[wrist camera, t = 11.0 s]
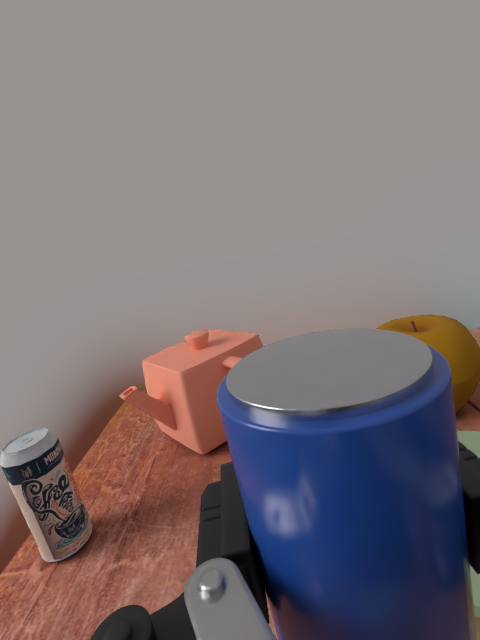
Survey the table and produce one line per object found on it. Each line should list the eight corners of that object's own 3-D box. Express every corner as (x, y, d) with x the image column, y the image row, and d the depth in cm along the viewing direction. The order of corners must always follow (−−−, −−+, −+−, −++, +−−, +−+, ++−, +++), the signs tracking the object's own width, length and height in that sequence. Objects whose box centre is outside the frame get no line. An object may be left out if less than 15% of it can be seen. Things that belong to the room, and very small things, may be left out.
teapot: (215, 384, 64) (196, 314, 61) (308, 413, 47) (289, 318, 44) (114, 440, 52) (84, 356, 49) (190, 506, 35) (152, 385, 32)
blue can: (530, 918, 7) (496, 408, 5) (293, 833, 9) (173, 424, 6) (457, 643, 12) (420, 314, 10) (310, 621, 14) (246, 338, 11)
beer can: (67, 570, 31) (18, 458, 28) (32, 561, 33) (-17, 455, 30) (104, 526, 35) (64, 425, 33) (71, 520, 37) (31, 424, 34)
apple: (349, 407, 47) (336, 328, 44) (414, 374, 51) (406, 301, 49) (438, 452, 35) (428, 348, 32) (512, 403, 40) (508, 309, 37)
